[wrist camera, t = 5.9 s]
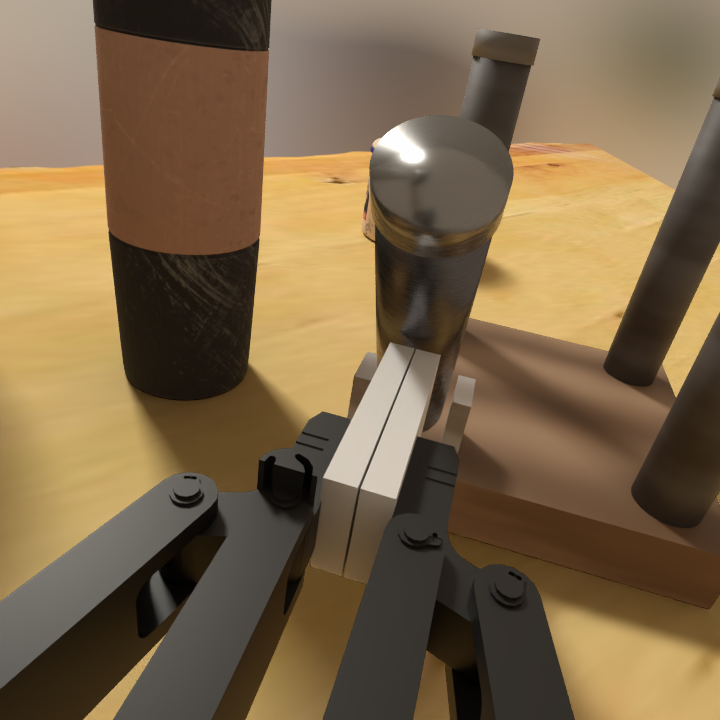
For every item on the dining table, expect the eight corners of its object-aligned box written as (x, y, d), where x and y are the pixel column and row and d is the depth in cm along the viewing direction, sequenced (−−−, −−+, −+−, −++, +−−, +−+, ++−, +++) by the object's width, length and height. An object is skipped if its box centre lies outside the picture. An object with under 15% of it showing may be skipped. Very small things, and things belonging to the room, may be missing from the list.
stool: (399, 340, 42) (462, 26, 32) (644, 402, 39) (795, 81, 29) (329, 496, 27) (406, 11, 18) (709, 609, 25) (1051, 117, 15)
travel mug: (261, 344, 39) (284, -9, 29) (239, 411, 32) (259, -17, 22) (144, 329, 38) (126, -36, 28) (97, 394, 32) (52, -52, 22)
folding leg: (386, 363, 28) (391, 104, 14) (452, 380, 27) (525, 129, 13) (366, 425, 26) (351, 208, 13) (436, 445, 26) (498, 240, 12)
